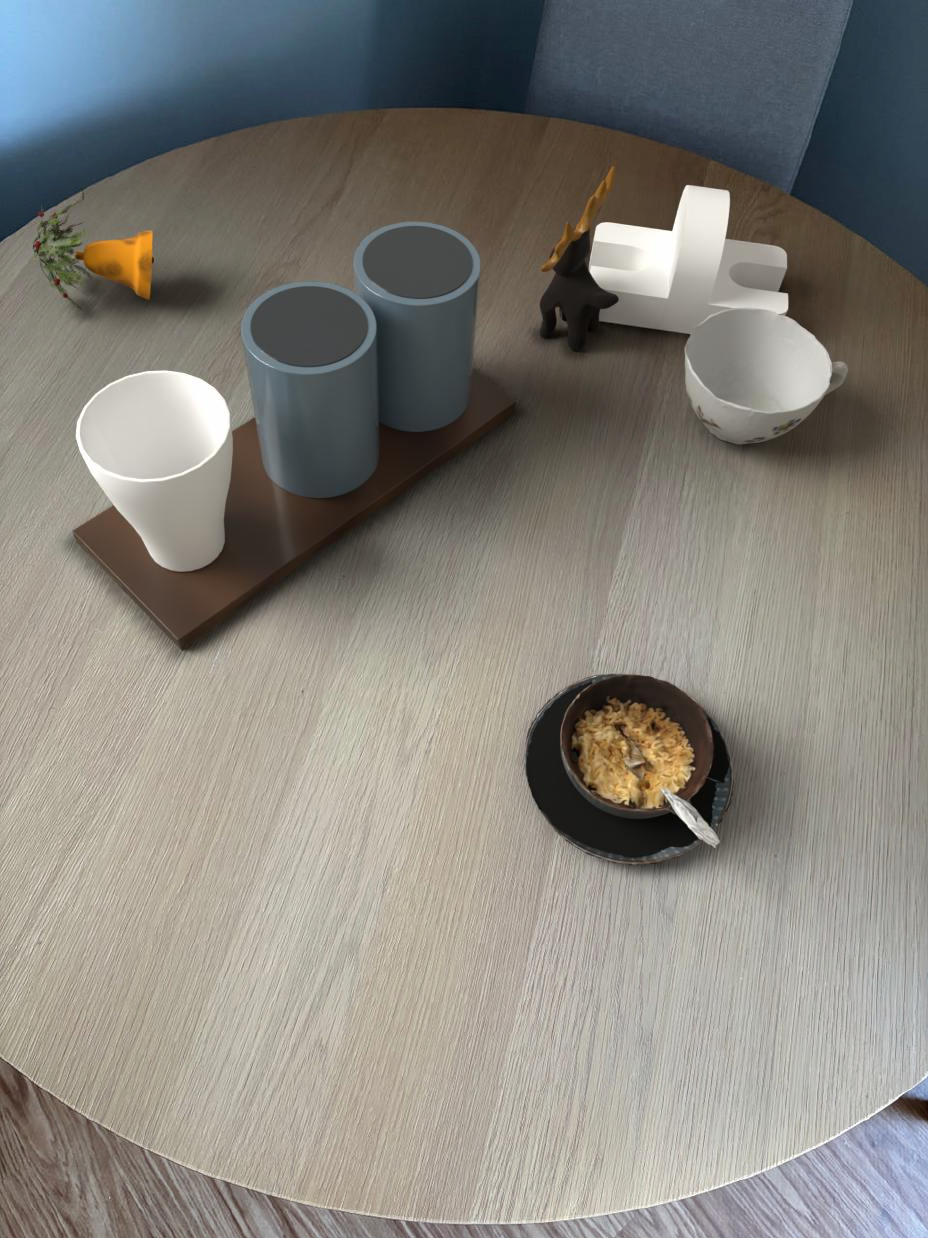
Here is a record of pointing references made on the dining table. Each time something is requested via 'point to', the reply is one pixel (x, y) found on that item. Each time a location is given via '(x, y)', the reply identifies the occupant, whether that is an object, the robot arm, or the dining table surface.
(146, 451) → the cup
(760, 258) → the bracket
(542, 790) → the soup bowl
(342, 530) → the walnut board
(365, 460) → the slate cup
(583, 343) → the figurine
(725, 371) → the teacup
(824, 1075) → the dining table surface
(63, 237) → the christmas decoration
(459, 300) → the slate cup
